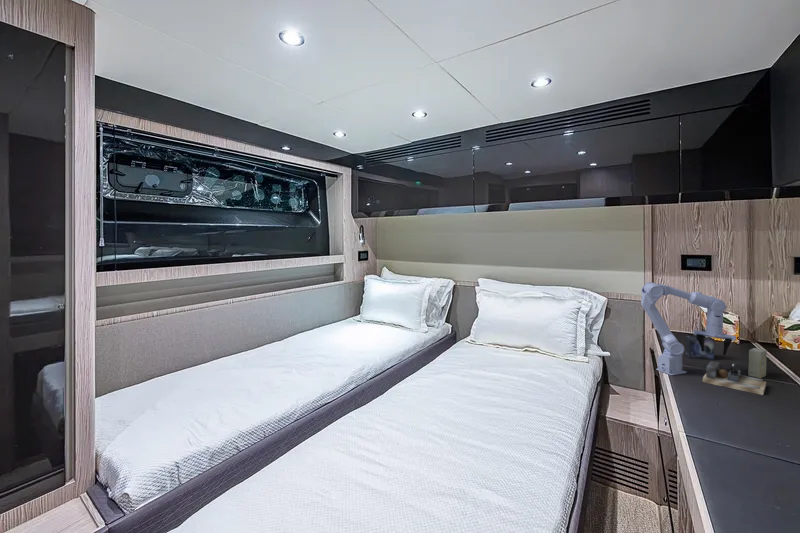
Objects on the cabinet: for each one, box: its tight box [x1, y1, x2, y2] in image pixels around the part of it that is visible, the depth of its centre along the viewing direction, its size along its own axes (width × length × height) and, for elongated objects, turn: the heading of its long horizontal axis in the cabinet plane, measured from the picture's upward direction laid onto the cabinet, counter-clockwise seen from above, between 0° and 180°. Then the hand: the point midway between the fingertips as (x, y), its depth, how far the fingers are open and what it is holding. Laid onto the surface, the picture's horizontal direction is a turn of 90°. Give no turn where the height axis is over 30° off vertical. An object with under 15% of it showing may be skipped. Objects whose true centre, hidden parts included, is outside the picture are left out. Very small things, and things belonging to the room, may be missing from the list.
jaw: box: [728, 362, 742, 382], centre depth 156 cm, size 3×9×7 cm, turn 131°
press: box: [702, 360, 767, 396], centre depth 156 cm, size 19×12×7 cm, turn 40°
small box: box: [684, 335, 716, 361], centre depth 189 cm, size 11×6×10 cm, turn 69°
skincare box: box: [747, 347, 768, 379], centre depth 163 cm, size 6×4×12 cm
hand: (713, 352), depth 166 cm, fingers open, 7 cm apart
